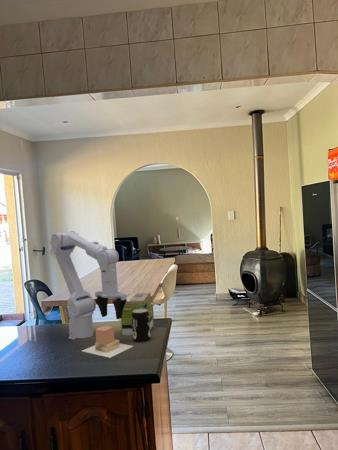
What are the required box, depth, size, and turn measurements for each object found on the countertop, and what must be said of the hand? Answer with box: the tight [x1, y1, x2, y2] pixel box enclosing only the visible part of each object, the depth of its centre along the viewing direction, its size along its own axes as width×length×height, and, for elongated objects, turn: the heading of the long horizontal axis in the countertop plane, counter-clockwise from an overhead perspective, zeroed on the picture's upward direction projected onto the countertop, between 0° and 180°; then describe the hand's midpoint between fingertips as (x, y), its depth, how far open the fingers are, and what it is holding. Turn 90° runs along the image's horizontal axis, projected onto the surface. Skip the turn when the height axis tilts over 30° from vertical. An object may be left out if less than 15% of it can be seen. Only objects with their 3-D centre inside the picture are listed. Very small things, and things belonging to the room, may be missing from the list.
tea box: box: [120, 292, 154, 336], centre depth 151 cm, size 15×10×15 cm
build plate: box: [81, 342, 134, 359], centre depth 130 cm, size 14×12×1 cm
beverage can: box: [132, 308, 152, 343], centre depth 138 cm, size 7×7×12 cm
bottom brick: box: [94, 338, 120, 353], centre depth 130 cm, size 6×6×2 cm
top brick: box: [95, 325, 115, 345], centre depth 129 cm, size 4×4×5 cm
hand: (111, 317), depth 138 cm, fingers open, 7 cm apart
